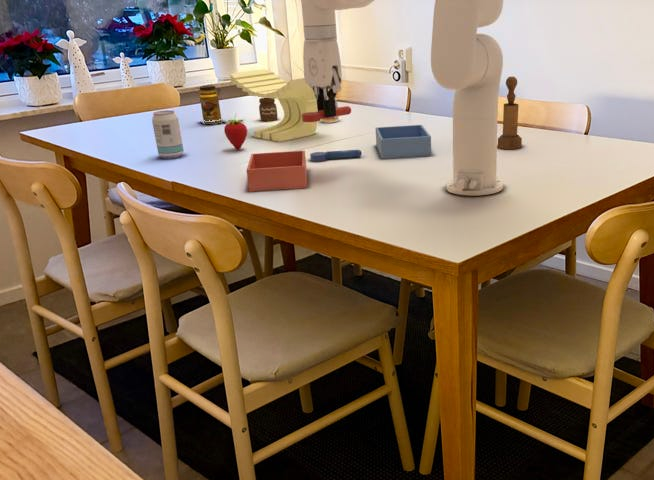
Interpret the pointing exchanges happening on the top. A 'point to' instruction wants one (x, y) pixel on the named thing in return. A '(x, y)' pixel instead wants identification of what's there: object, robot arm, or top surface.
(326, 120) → the pill bottle
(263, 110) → the dark brown jar
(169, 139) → the beverage can
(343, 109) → the spoon terracotta
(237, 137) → the strawberry
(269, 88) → the slatted curved stool
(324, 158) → the spoon blue
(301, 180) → the bin terracotta
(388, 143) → the bin blue
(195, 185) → the top surface
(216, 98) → the condiment
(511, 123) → the brown tall knobbed column
